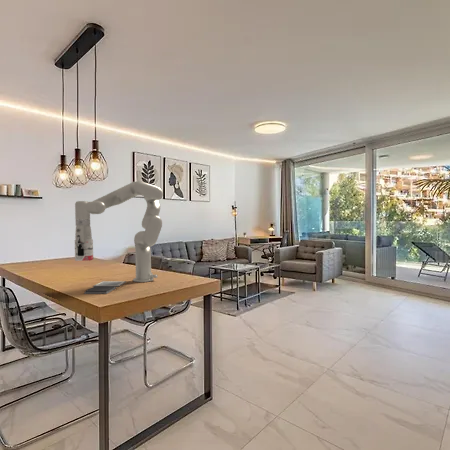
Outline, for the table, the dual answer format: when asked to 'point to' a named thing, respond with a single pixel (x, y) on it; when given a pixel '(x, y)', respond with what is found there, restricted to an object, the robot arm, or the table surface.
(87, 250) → the ink box
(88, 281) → the table surface
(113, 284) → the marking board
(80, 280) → the table surface
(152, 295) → the table surface
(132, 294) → the table surface
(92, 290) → the pad
